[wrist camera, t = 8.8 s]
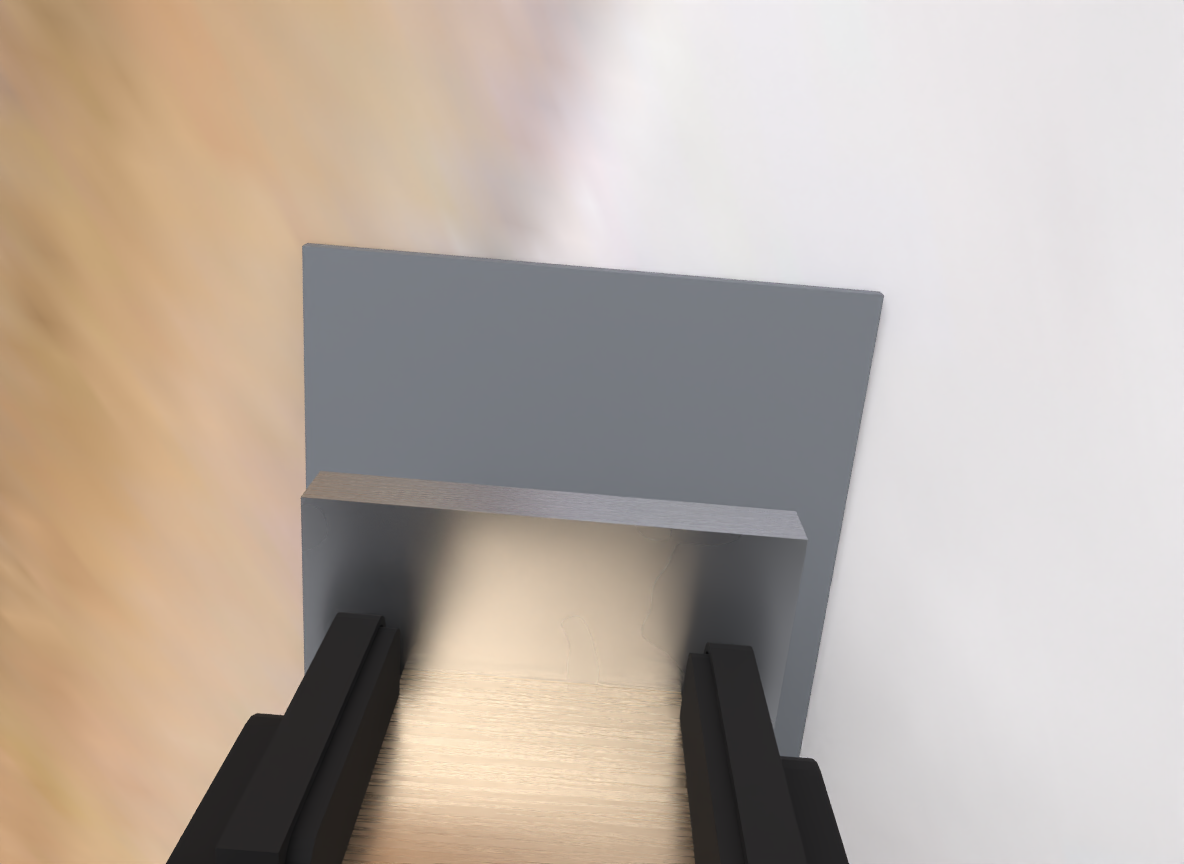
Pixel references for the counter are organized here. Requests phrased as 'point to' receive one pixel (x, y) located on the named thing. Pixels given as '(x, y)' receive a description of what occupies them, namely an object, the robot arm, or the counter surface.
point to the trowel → (540, 657)
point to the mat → (596, 392)
